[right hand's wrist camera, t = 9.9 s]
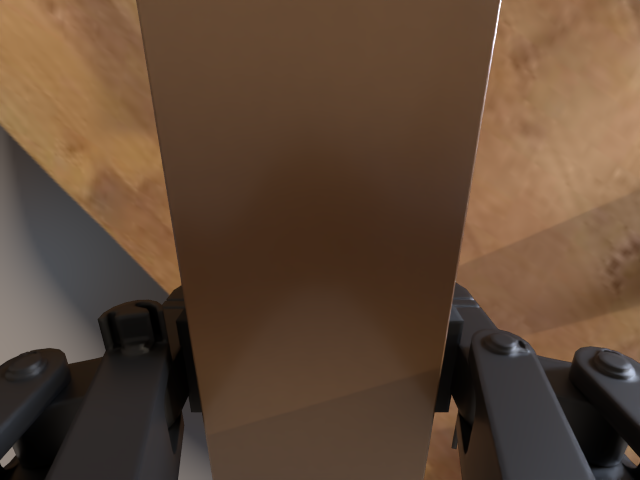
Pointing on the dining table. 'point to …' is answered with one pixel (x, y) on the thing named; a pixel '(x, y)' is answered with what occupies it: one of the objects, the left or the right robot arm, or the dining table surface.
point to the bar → (318, 218)
